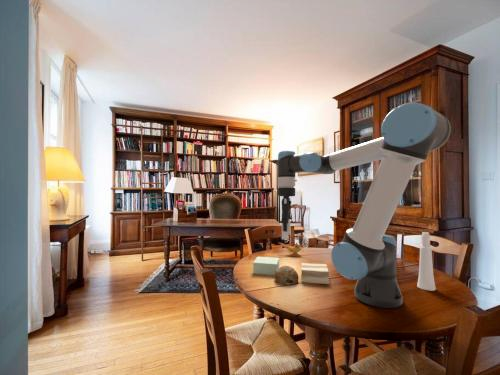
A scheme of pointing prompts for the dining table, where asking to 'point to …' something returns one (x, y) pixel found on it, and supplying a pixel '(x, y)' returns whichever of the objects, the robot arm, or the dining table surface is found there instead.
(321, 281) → the beech block
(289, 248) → the magic lamp
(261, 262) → the green block
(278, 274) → the brown domed lump
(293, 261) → the dining table surface
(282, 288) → the dining table surface
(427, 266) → the cosmetic bottle
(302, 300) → the dining table surface
